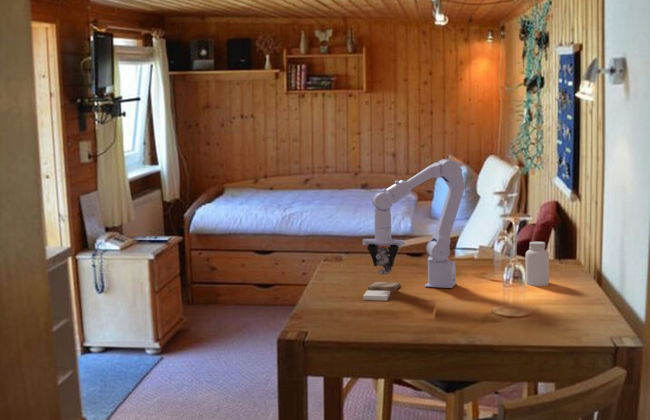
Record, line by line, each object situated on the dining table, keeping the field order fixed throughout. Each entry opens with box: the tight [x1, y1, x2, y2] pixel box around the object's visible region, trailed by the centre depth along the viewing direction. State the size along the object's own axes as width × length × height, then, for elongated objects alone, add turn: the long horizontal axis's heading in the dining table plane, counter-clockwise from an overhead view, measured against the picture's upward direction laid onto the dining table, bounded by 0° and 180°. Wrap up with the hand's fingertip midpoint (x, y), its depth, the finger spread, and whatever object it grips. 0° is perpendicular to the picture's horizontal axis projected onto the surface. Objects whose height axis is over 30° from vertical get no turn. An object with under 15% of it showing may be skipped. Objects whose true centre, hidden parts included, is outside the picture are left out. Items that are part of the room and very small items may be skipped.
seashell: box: [375, 245, 393, 276], centre depth 275 cm, size 5×5×10 cm
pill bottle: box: [524, 241, 550, 287], centre depth 277 cm, size 8×8×15 cm
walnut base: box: [367, 281, 401, 294], centre depth 276 cm, size 9×9×2 cm
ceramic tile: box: [362, 289, 391, 302], centre depth 266 cm, size 8×8×2 cm
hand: (383, 266), depth 275 cm, fingers closed on seashell, 5 cm apart
